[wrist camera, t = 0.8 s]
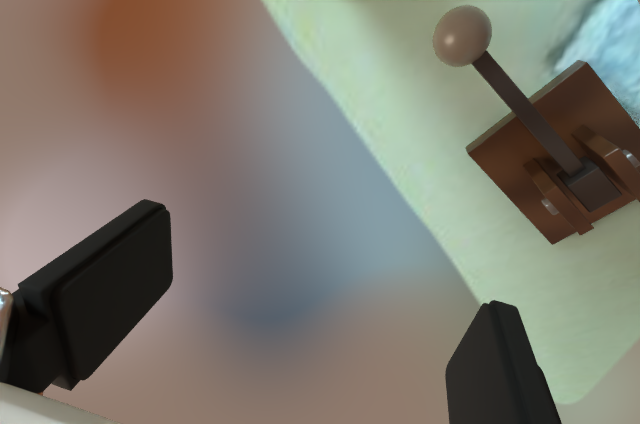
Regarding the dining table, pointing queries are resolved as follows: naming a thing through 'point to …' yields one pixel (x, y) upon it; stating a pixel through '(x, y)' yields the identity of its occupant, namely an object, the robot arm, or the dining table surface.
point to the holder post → (517, 101)
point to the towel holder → (580, 136)
